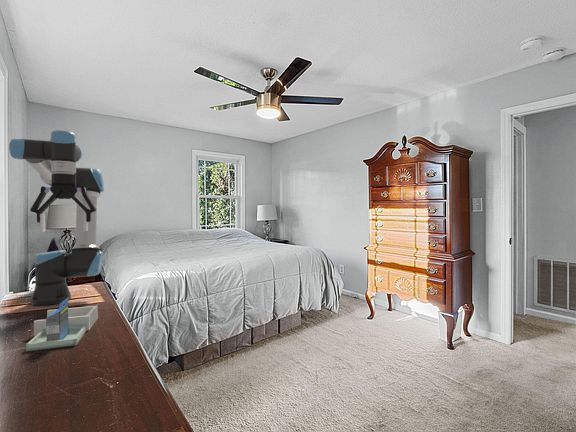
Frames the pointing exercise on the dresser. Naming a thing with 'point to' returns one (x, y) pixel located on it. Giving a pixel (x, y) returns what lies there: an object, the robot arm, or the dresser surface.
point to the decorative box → (54, 245)
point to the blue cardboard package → (58, 323)
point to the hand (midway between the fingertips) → (64, 231)
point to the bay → (72, 318)
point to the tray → (69, 340)
